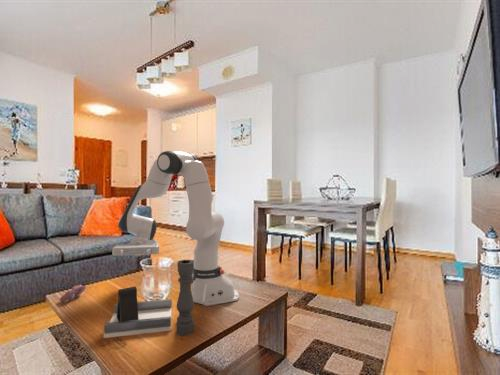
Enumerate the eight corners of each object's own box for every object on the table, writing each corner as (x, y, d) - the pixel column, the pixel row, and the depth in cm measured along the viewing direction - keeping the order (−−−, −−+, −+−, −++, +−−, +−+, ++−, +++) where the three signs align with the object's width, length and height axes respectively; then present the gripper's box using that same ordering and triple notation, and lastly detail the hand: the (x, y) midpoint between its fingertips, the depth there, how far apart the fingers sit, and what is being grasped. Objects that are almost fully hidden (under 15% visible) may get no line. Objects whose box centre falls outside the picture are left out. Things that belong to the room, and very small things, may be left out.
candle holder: (177, 337, 98) (178, 265, 97) (174, 328, 103) (175, 260, 103) (195, 333, 100) (196, 263, 100) (191, 325, 106) (192, 258, 105)
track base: (171, 307, 120) (171, 305, 120) (170, 330, 102) (170, 327, 102) (115, 312, 115) (115, 310, 115) (103, 338, 97) (103, 335, 97)
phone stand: (138, 322, 105) (138, 290, 105) (121, 327, 102) (121, 294, 102) (132, 313, 113) (133, 283, 112) (116, 317, 109) (116, 286, 109)
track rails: (171, 306, 119) (171, 299, 119) (170, 326, 103) (170, 318, 103) (114, 311, 114) (114, 304, 114) (104, 333, 98) (104, 324, 97)
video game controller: (66, 306, 123) (72, 293, 122) (57, 301, 124) (64, 287, 123) (83, 297, 133) (89, 285, 132) (75, 292, 133) (81, 279, 133)
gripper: (115, 240, 136) (108, 247, 123) (160, 239, 141) (158, 245, 128) (115, 253, 136) (108, 262, 123) (159, 252, 141) (158, 259, 128)
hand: (134, 253), depth 125 cm, fingers open, 8 cm apart
